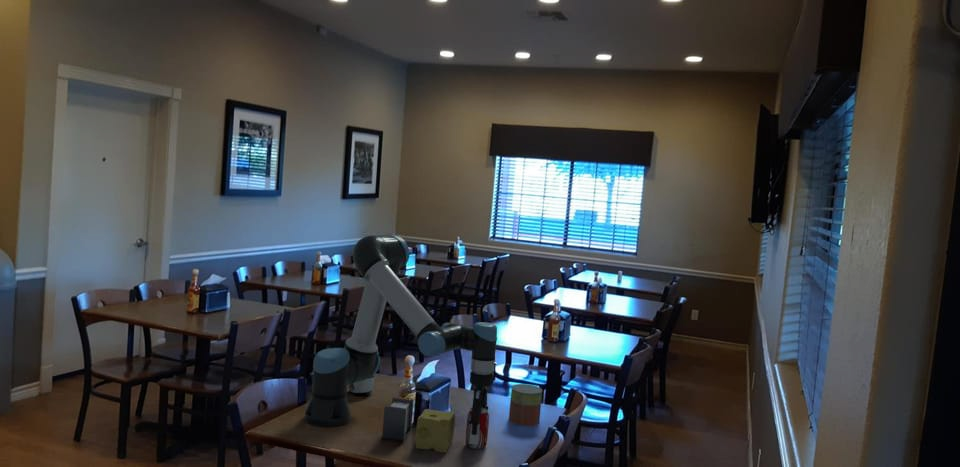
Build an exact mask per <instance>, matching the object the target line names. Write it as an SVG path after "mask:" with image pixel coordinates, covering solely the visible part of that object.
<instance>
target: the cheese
mask: <svg viewBox="0 0 960 467" xmlns="http://www.w3.org/2000/svg"><path fill="white" fill-rule="evenodd" d="M455 418H456V413H455V412H454V411H442V410H435V409H429V408H425V409H424V410H423V411H422V413H421V415H419V416H418V417H417V421H416V429H415V430H416V431H415V432H416V433H415V449H418V450H419V449H421V450H434V451H435V452H439V453H445V454H446V453H447V451H448V449H449V447H450V445H451V444H452V442H453V439H454V438H453V437H454V433H455V427H456V425H455V424H456V419H455Z"/></svg>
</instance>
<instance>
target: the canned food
mask: <svg viewBox="0 0 960 467" xmlns="http://www.w3.org/2000/svg"><path fill="white" fill-rule="evenodd" d="M510 389H511V391H510V401H509V402H510V403H509V415H508V422H509V423H511V424H513V425H516V426H518V427H524V428H526V427H527V428H532V427H537V426H539V424H541V422H540V420H541V410H542V409H541V407H542V400H543V399H542V397H543V391H544V390H543V389H542V388H541V387H539V386H537V385H533V384H525V383H519V384H518V383H517V384H514V385H511V387H510Z"/></svg>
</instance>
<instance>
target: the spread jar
mask: <svg viewBox="0 0 960 467" xmlns="http://www.w3.org/2000/svg"><path fill="white" fill-rule="evenodd" d="M374 385H375V374H374V375H373V376H371V377H369V378H368V379H366V380H362V381H358V382H355V383H352V384H349V385H347V390H348V391H349V393H350V394H351V395H352V396H357V397H363V396H364V397H365V396H368V395H369V394H371V393H372V392H373V390H374V387H375V386H374Z"/></svg>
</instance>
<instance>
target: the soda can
mask: <svg viewBox="0 0 960 467" xmlns="http://www.w3.org/2000/svg"><path fill="white" fill-rule="evenodd" d="M488 410H489V409H488ZM488 410H487V409H486V408H483V407H482V408H481V414H480V420H479V424H480V427H479V439H478V445H475V444H469V440H470V428H471V424H469V421H470V420H471V413H472V407H470V408H469V411H468V413H467V418H466V429H465V430H466V431H465V444H466V446H468V447H469V448H471V449H474V450H480V449H481V450H482V449H483V448H485V447H486V446H487V444H488V437H489V435H488V434H489V426H490V415H489V412H488ZM473 420H475V419H473Z"/></svg>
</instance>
